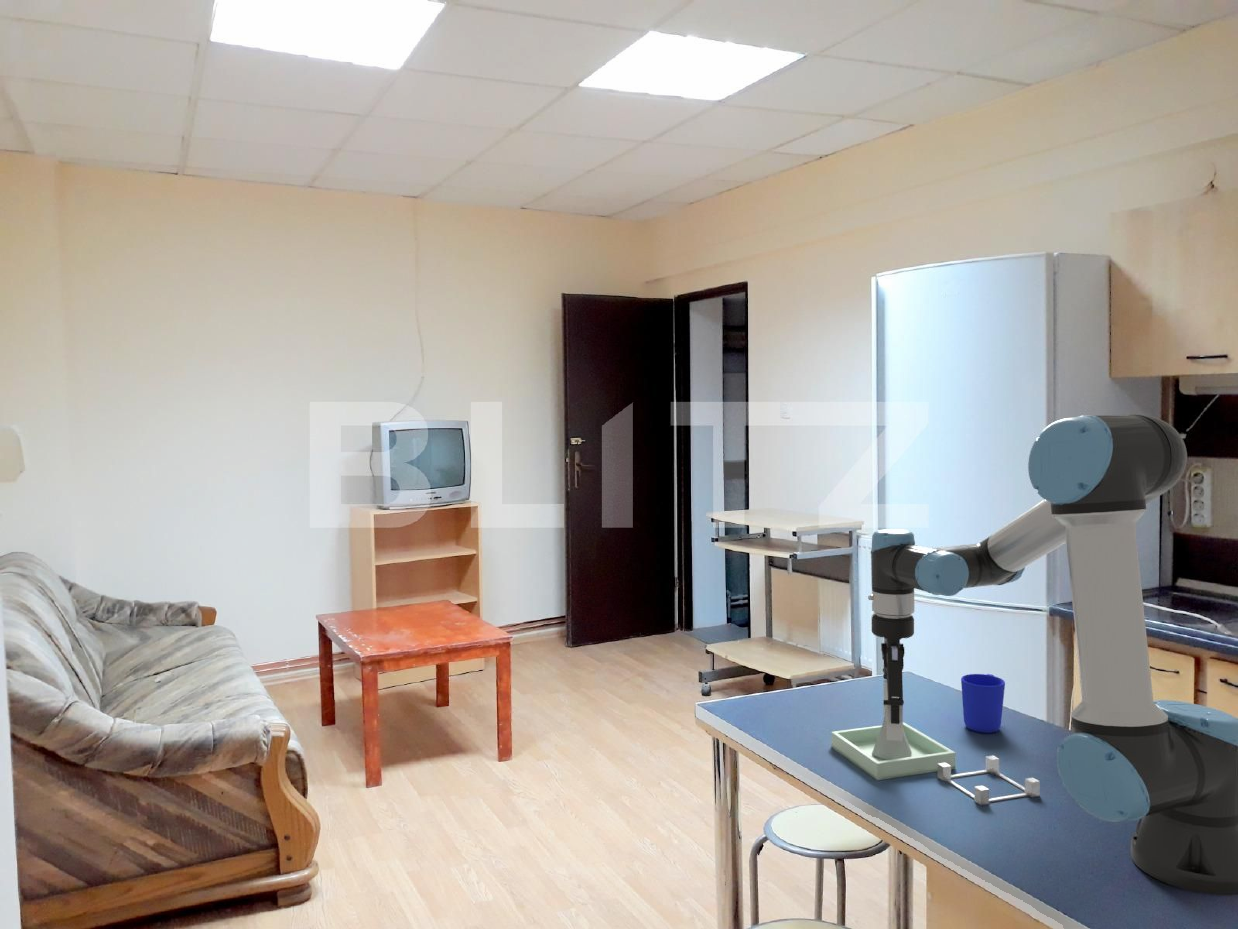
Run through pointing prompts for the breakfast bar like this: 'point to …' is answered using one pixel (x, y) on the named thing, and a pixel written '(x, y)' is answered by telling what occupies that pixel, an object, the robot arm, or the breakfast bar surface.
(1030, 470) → the robot arm
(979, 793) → the socket
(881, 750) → the flask
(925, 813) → the breakfast bar surface
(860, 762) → the bin
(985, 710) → the mug
